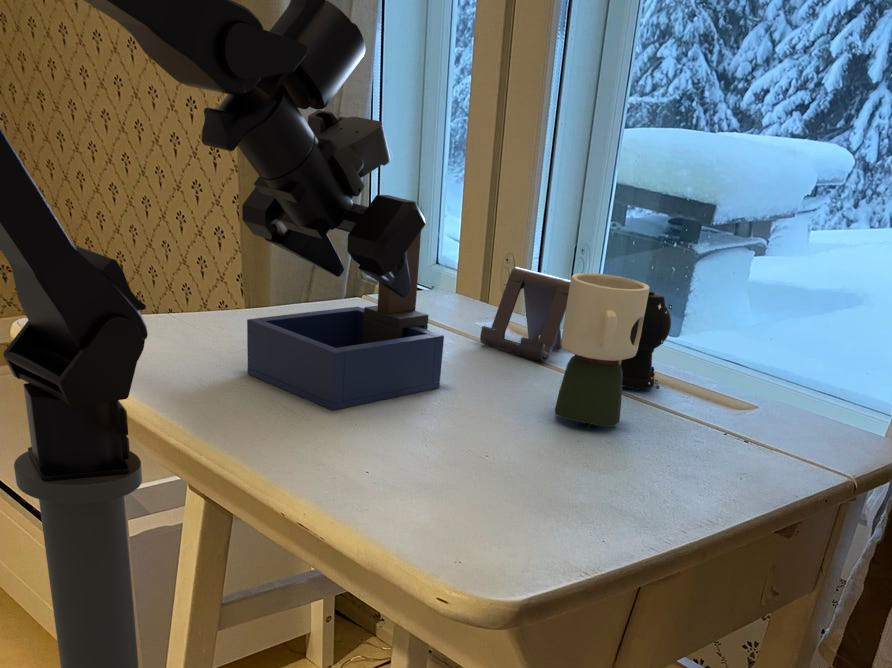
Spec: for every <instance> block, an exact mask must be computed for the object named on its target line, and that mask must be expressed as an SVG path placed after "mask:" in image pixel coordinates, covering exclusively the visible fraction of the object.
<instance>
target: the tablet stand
mask: <svg viewBox="0 0 892 668" xmlns="http://www.w3.org/2000/svg"><path fill="white" fill-rule="evenodd" d="M570 281H571V279H570V280H569V279H567V278H561V277H557V276H554V275H550V274H545V273H543V272H537V271H533V270H530V269H527V268H522V267H519V266H515V267H513V268H512V270H511V271H510V274H509V276H508V279H507V281H506V282H507V283H506V284H505V288H504V291H503V293H502V296H501V300H500V302H499V305H498V308H497V311H496V313H495V316H494V320H493V322H492V324H491V326H490V327H489V326H487V325H483V326H481V331H480V335H479V340H480V343H481V344H482V345H484V346H488V347H490V348H495V349H498V350H502V351H505V352H508V353H512V354H516V355H518V356H521V357H525V358H528V359H532V360H533V361H537V362H542V363H546V362H547V361H548V360H549V358H550V356H551V353H552V350H553V349H555V350H561V349H562V348H563V347H562V346H561V339H562V331H561V329H562V327H561V326H562V322H563V320H564V318H565V313H566V307H567V300H568V294H569V287H570ZM521 290H523V297H524V308H525V318H526V327H527V336H528V337H524V336H522V337H521V338H520V342H517V341H513V340H509V339H506V331H507V330H508V326H509V324H510V320H511V318H512V315H513V312H514V309H515V306H516V304H517V300H518V298H519V295H520V294H521V293H520V292H521Z"/></svg>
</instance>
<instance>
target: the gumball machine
mask: <svg viewBox="0 0 892 668" xmlns="http://www.w3.org/2000/svg"><path fill="white" fill-rule="evenodd" d="M672 308H673V305H672V304H668V306H667V305H666V298H665V295H663V294H661V293H660V292H656V291H653V290H649V294H648V300H647V305H646V310H645V315H644V320H643V326H642V331H641V337H640V341H639V346H638V350H637V353H636V355H635V356H634V357H632V358H628V359H624V360H621V368H622V372H623V380H622V387H625V388H630V389H637V390H638V389H639V390H645V389H646V390H647V389H652V388H653V387H655V389H656V390H659V389H660V385H658V383H659V380H658V379H655V374H656V373H655V368H654V366H653V353H654V352H655V349H657V348H659V347H660V346H661V345H664V342H665V341H666V340H667V338H668V337H669V335H670V332H671V328H672V327H671V326H672V317H671V312H670V310H672ZM655 385H656V386H655Z"/></svg>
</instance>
